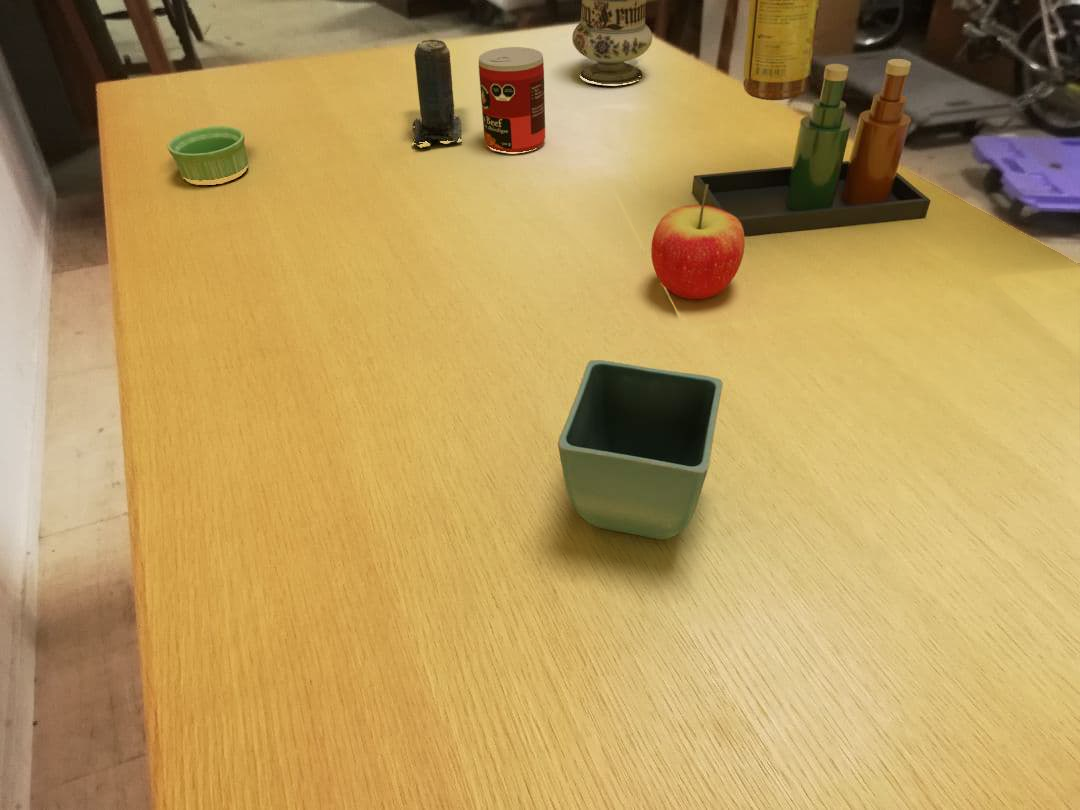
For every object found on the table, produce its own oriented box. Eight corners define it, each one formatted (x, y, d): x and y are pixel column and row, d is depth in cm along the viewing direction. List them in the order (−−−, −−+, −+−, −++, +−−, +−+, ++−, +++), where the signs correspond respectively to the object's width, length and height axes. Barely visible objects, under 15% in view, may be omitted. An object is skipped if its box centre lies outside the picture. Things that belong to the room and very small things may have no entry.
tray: (874, 177, 92) (879, 157, 90) (924, 221, 83) (931, 200, 82) (691, 195, 90) (693, 175, 88) (723, 242, 81) (726, 220, 80)
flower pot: (692, 572, 49) (708, 472, 44) (557, 545, 51) (555, 445, 46) (708, 475, 56) (724, 376, 50) (587, 454, 58) (589, 357, 52)
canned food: (476, 139, 104) (469, 52, 97) (531, 128, 107) (528, 43, 99) (497, 160, 99) (491, 69, 92) (555, 148, 101) (553, 59, 94)
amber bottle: (875, 186, 89) (910, 52, 80) (896, 206, 85) (936, 67, 76) (833, 190, 89) (863, 56, 79) (853, 210, 85) (887, 71, 75)
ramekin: (241, 153, 103) (232, 120, 100) (262, 176, 97) (253, 142, 94) (171, 170, 99) (159, 136, 97) (188, 196, 94) (176, 160, 91)
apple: (743, 274, 76) (759, 177, 70) (728, 322, 70) (744, 220, 64) (660, 262, 78) (667, 166, 72) (639, 306, 72) (645, 207, 66)
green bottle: (820, 192, 88) (849, 57, 79) (840, 212, 85) (873, 73, 75) (778, 196, 88) (802, 61, 79) (796, 216, 84) (823, 77, 75)
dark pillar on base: (472, 144, 103) (463, 48, 95) (414, 152, 101) (400, 55, 94) (458, 120, 110) (449, 28, 102) (403, 128, 108) (390, 35, 100)
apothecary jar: (644, 92, 116) (652, -46, 105) (565, 88, 119) (564, -47, 107) (654, 66, 125) (662, -63, 113) (580, 63, 127) (581, -64, 116)
